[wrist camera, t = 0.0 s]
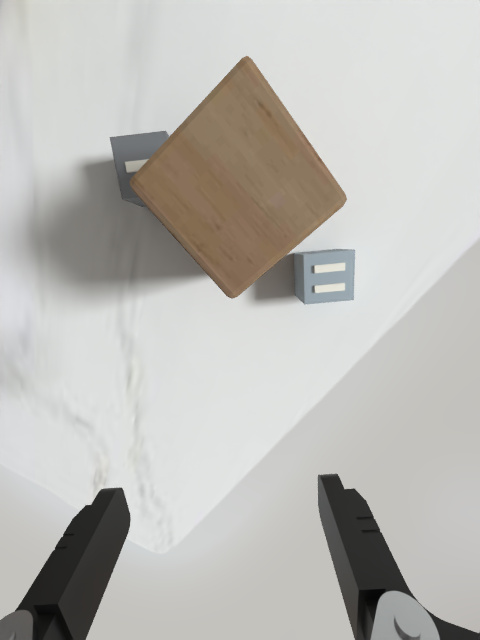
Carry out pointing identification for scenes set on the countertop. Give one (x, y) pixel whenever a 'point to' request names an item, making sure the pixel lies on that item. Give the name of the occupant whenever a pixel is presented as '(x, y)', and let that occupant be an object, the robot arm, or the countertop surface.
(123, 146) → the charcoal marked block
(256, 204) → the wooden block
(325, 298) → the slate marked block
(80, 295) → the countertop surface
